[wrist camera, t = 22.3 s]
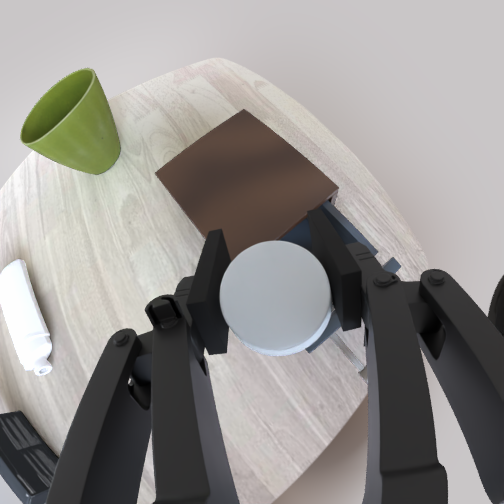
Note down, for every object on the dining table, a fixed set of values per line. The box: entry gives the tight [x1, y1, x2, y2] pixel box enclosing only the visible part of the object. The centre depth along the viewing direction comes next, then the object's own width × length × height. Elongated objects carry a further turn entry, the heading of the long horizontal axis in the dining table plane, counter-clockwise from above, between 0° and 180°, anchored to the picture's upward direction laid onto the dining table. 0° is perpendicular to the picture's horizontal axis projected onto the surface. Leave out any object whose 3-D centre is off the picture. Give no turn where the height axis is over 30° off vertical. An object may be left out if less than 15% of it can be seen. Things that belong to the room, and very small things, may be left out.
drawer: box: [279, 200, 401, 384], centre depth 27 cm, size 20×11×8 cm, turn 39°
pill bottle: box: [220, 241, 332, 356], centre depth 14 cm, size 5×5×8 cm
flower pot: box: [20, 68, 120, 175], centre depth 36 cm, size 15×15×16 cm
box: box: [0, 411, 59, 504], centre depth 24 cm, size 17×7×12 cm, turn 59°
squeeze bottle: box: [0, 259, 52, 376], centre depth 34 cm, size 10×20×5 cm, turn 41°
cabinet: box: [155, 109, 339, 262], centre depth 31 cm, size 15×13×10 cm
